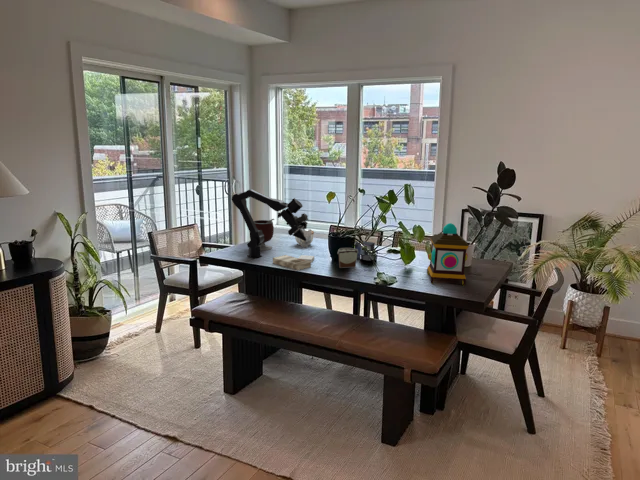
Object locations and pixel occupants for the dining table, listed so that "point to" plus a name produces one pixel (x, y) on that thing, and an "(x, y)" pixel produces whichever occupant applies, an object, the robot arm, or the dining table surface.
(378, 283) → the dining table surface
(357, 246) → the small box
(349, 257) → the food container
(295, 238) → the lidded bowl
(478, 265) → the dining table surface
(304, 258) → the block
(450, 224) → the decorative lantern
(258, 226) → the mate gourd
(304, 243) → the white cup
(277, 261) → the plate
